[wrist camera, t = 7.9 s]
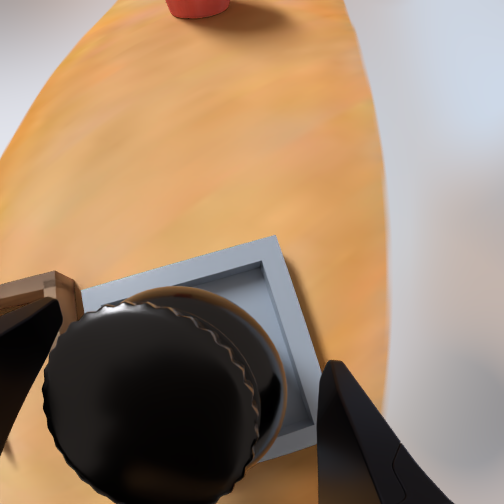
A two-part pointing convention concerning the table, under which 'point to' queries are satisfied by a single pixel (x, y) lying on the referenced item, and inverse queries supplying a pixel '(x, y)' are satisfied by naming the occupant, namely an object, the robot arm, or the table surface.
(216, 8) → the flower pot
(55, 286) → the cradle
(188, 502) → the supplement bottle
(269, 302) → the tray
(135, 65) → the table surface
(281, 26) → the table surface
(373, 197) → the table surface
